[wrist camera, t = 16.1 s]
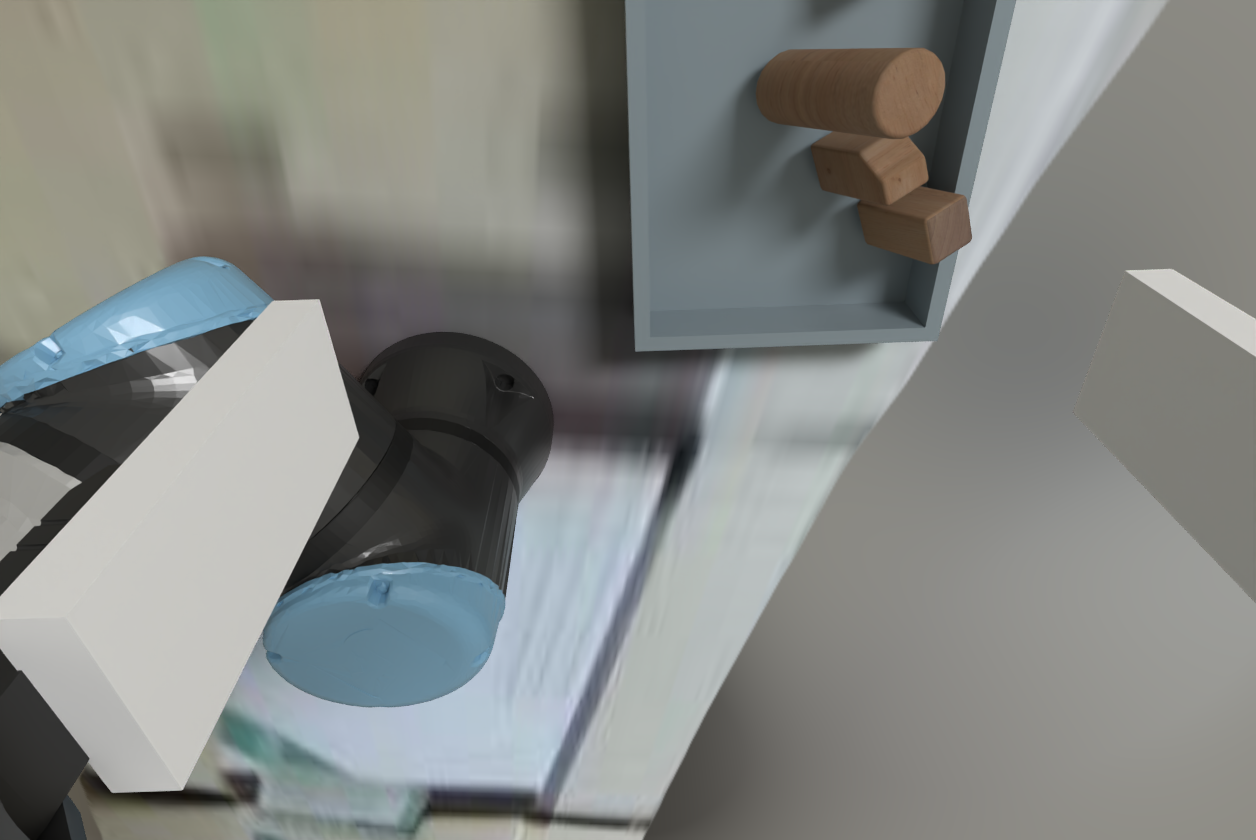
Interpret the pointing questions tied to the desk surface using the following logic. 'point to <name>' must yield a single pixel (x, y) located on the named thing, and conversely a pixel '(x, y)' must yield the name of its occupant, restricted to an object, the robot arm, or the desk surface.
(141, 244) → the desk surface
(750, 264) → the crate
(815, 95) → the wooden block set
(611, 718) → the desk surface
